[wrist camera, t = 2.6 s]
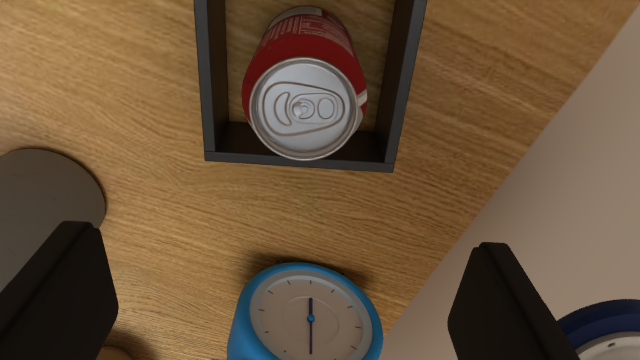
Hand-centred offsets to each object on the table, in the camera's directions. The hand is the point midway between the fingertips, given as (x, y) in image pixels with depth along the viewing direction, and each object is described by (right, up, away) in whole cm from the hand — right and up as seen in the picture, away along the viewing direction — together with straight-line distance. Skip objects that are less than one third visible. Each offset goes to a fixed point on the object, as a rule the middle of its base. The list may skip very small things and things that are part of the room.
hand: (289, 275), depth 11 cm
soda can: (0, +12, +20) cm, 24 cm away
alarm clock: (-1, -8, +33) cm, 34 cm away
